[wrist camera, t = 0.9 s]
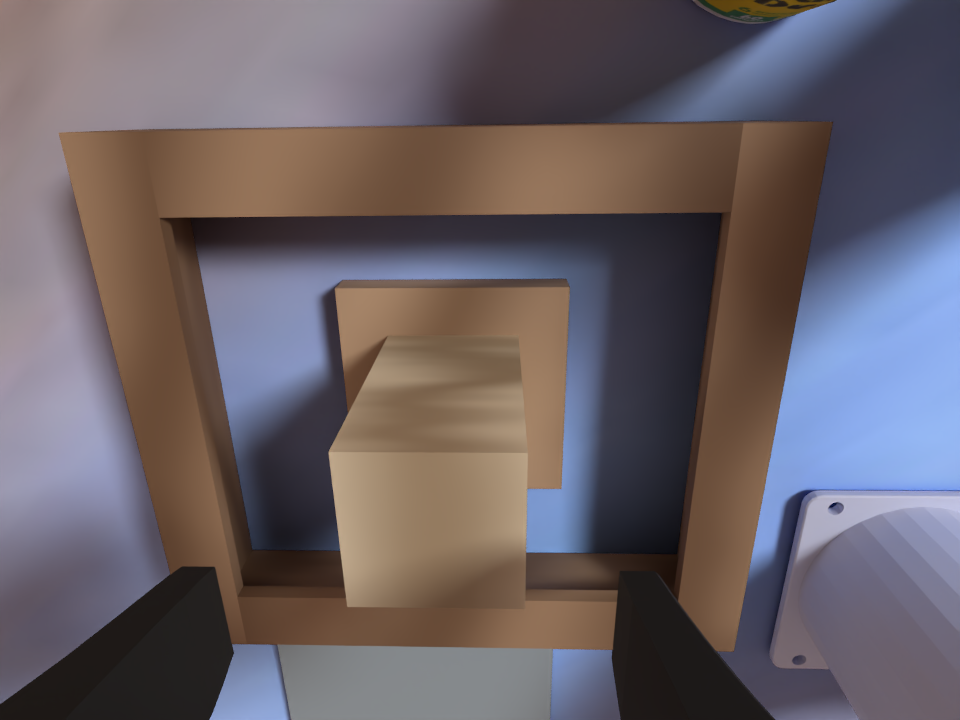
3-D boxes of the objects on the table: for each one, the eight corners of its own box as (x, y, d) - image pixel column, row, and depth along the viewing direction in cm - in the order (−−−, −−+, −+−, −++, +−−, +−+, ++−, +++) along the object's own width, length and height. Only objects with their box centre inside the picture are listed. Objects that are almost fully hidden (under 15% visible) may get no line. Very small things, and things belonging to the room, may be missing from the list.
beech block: (518, 335, 19) (527, 453, 12) (517, 449, 20) (524, 609, 14) (388, 335, 19) (328, 452, 12) (396, 449, 20) (346, 607, 14)
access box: (770, 120, 17) (833, 121, 14) (701, 575, 23) (733, 651, 20) (139, 129, 18) (58, 132, 14) (231, 570, 24) (187, 643, 20)
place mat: (553, 595, 24) (554, 602, 23) (546, 785, 28) (546, 794, 27) (272, 591, 24) (269, 598, 24) (306, 779, 28) (303, 788, 28)
